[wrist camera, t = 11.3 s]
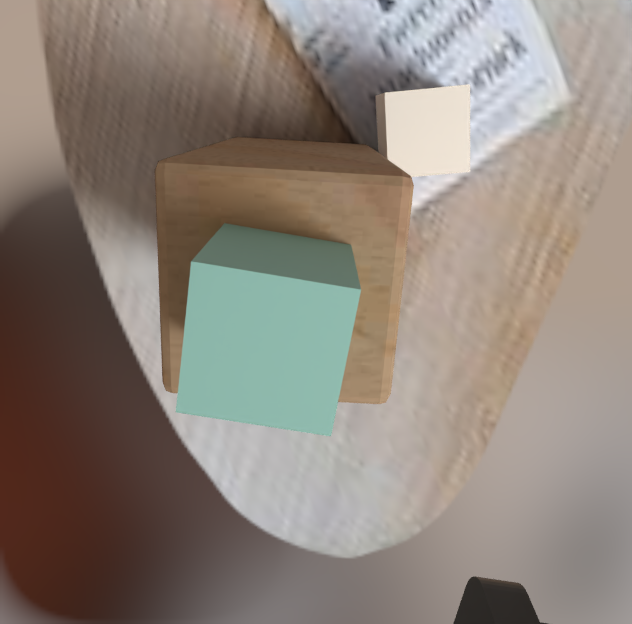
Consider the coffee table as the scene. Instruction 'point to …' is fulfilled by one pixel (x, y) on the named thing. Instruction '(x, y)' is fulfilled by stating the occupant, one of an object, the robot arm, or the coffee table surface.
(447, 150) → the cream block
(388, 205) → the wooden block
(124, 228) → the coffee table surface
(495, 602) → the robot arm
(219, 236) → the teal block
